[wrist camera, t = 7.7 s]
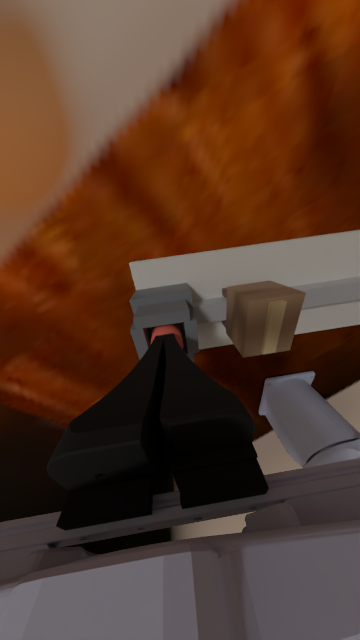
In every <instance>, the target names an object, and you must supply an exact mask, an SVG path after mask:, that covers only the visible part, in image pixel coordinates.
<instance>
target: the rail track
mask: <svg viewBox="0 0 360 640" xmlns="http://www.w3.org/2000/svg"><path fill="white" fill-rule="evenodd" d="M129 265H130V269H131V273H132V277H133V280H134V284H135V288H136V291H135V293H134V294H133V296H132V297H131V299H130V300H129V301H130V304H131V307H132V311H133V314H134V317H133V320H134V322H133V324H132V327H131V329H130V332H131V335H132V338H133V341H134V344H135V347H136V350H137V353H138V356H139V359H140V360H141V358H142V357H143V356H144V354H145V353H146V351H147V350H148V348H149V346H150V344H151V338H152V331H153V327H155V326H162V325H168V324H175V323H179V325H180V329H181V334H182V340H183V349H182V350H183V351H184V352H185V354H186V355H187V356H188V357H189V359H190V360H191V361H192V362H195V361H194V353H199V349H205V348H212V347H218V346H224V345H231V344H233V342H232V341H231V339H230V338H229V337H228V335H227V334H226V328H225V327H224V325H223V324H222V321H223V320H226V310H227V299H226V298H225V297H224V296H223V295H222V288H227V287H229V286H236V285H242V284H249V283H256V282H263V281H273V282H276V283H279V284H282V285H285V286H288V287H291V288H294V289H297V290H300V291H303V292H306V295H305V298H304V302H303V305H302V309H301V312H300V316H299V319H298V323H297V326H296V330H295V334H301V333H307V332H314V331H320V330H326V329H333V328H339V327H346V326H352V325H358V324H360V230H354V231H347V232H340V233H333V234H326V235H319V236H312V237H305V238H298V239H291V240H283V241H276V242H269V243H262V244H255V245H248V246H241V247H234V248H227V249H220V250H213V251H206V252H199V253H191V254H184V255H177V256H170V257H163V258H156V259H149V260H142V261H135V262H130V263H129ZM295 334H294V335H295Z"/></svg>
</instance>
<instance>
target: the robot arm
mask: <svg viewBox="0 0 360 640" xmlns="http://www.w3.org/2000/svg"><path fill="white" fill-rule="evenodd" d="M314 376H315V373H314V372H313V371H309V372H303V373H297V374H291V375H285V376H279V377H272V378H267V379H266V380H265V383H264V388H263V393H262V398H261V403H260V407H259V414H260V415H265V416H266V417H267V419H268V421H269V422H270V424H271V426H272V427H273V429H274V431H275V433H276V434H277V436H278V438H279V439H280V441H281V443H282V445H283V446H284V447H285V449H286V451H287V453H288V454H289V455H290V456H291V457H292V459H294V460H295V461H296V462H297V463H298V464H300V465H301V466H302V467H303V468H302V469H296V470H290V471H285V472H279V473H274V474H268V475H263V473H262V470H261V468H260V466H259V463H258V461H257V459H256V458H257V453H256V451H255V449H254V446H253V444H252V441H253V436H254V431H255V424H254V422H253V420H252V418H251V416H250V414H249V413H248V411H247V409H246V408H245V406H244V405H243V403H242V402H241V401H240V399H239V398H238V397H237V395H235V394H234V393H232V392H230V391H229V390H227V389H226V388H224V387H223V386H221V385H220V384H218V383H217V382H215V381H214V380H213V379H211V378H210V377H209V376H208V375H206V374H205V373H204V372H203V371H201V370H200V369H199V368H198V367H197V366H196V365H195V364H194V363H193V362H192V361H191V360H190V359H189V357H188V356H187V355H186V354H185V352H184V351H183V350H182V348H181V347H180V345H179V344H178V342H177V340H176V338H175V334H173V333H170V334H164V335H157V336H155V338H154V340H153V341H152V343H151V345H150V346H149V348H148V350H147V351H146V353H145V354H144V356H143V357H142V358H141V360H140V361H139V362H138V364H137V365H136V366H135V367H134V369H133V370H132V371H131V372H130V373H129V374H128V375H127V376H126V377H125V378H124V379H123V380H122V381H121V382H120V383H119V384H118V385H117V386H116V387H115V388H114V389H113V390H112V391H110V392H109V393H108V394H107V395H106V396H104V397H103V398H102V399H101V400H100V401H98V402H97V403H96V404H94V405H93V406H92V407H90V408H89V409H88V410H86V411H85V412H84V413H82V414H81V415H80V416H78V417H77V418H75V419H74V420H72V421H71V422H70V424H69V425H68V427H67V429H66V431H65V432H64V435H63V436H62V438H61V440H60V442H59V444H58V446H57V447H56V449H55V451H54V453H53V455H52V457H51V459H50V461H49V463H48V465H47V471H48V474H49V476H50V477H52V479H53V480H55V481H56V482H58V483H59V484H60V485H62V486H63V487H64V488H66V489H67V490H69V493H68V496H67V499H66V501H65V504H64V506H63V509H62V511H61V512H56V513H50V514H45V515H39V516H34V517H28V518H23V519H18V520H12V521H6V522H0V640H360V433H359V432H358V431H357V430H356V429H355V428H354V427H353V426H352V425H351V424H350V423H348V421H347V420H345V419H344V418H343V417H342V416H341V415H340V414H339V413H338V412H337V411H336V410H335V409H334V408H333V407H332V406H331V405H330V404H329V403H328V402H327V401H326V400H325V399H324V398H323V397H322V396H321V395H320V394H319V393H318V392H317V391H316V390H314V389H313V388H312V387H311V383H312V381H313V379H314ZM173 476H174V478H175V481H176V484H177V487H178V489H179V491H174V484H173ZM254 511H255V512H254ZM248 512H253V513H250V514H247V515H246V517H245V522H246V525H247V526H246V527H244V528H243V530H242V533H234V534H225V535H216V536H207V537H200V538H191V539H184V540H177V541H171V542H165V543H158V544H152V545H146V546H141V547H136V548H131V549H125V550H120V551H116V552H111V553H107V554H102V555H99V554H93V553H90V552H87V551H85V550H84V549H83V548H82V547H67V548H59V547H64V546H69V545H75V544H80V543H86V542H91V541H96V540H102V539H108V538H113V537H118V536H124V535H129V534H135V533H140V532H145V531H151V530H156V529H161V528H167V527H172V526H178V525H183V524H188V523H194V522H199V521H205V520H210V519H216V518H221V517H227V516H232V515H237V514H243V513H248Z"/></svg>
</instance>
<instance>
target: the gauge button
mask: <svg viewBox="0 0 360 640" xmlns="http://www.w3.org/2000/svg"><path fill="white" fill-rule="evenodd" d="M170 333H173V334H175V338H176V340H177V342H178V344H179V345H180V347H181V348H182V349H183V340H182V334H181V329H180V325H179V323H175V324H168V325H162V326H155V327H153V331H152V338H151V343H152V341H153V340H154V338H155V336H157V335H164V334H170ZM150 345H151V344H150Z"/></svg>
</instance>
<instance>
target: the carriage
mask: <svg viewBox="0 0 360 640" xmlns="http://www.w3.org/2000/svg"><path fill="white" fill-rule="evenodd" d="M222 295H223V296H224V297H225V298H226V299H227V310H226V320H223V321H222V324H223V325H224V327H225V328H226V334H227V335H228V337H229V338H230V339H231V341H232V342H233V344H234V345H235V347H236V348H237V350H238V351H239V352H240V354H241V355H242V357H243V358H244V357H250V356H256V355H263V354H269V353H275V352H282V351H288V350H290V348H291V344H292V341H293V337H294V334H295V330H296V326H297V323H298V319H299V316H300V312H301V309H302V305H303V302H304V298H305V295H306V292H303V291H300V290H297V289H294V288H291V287H288V286H285V285H282V284H279V283H276V282H273V281H263V282H256V283H249V284H242V285H236V286H229V287H227V288H222Z"/></svg>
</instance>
